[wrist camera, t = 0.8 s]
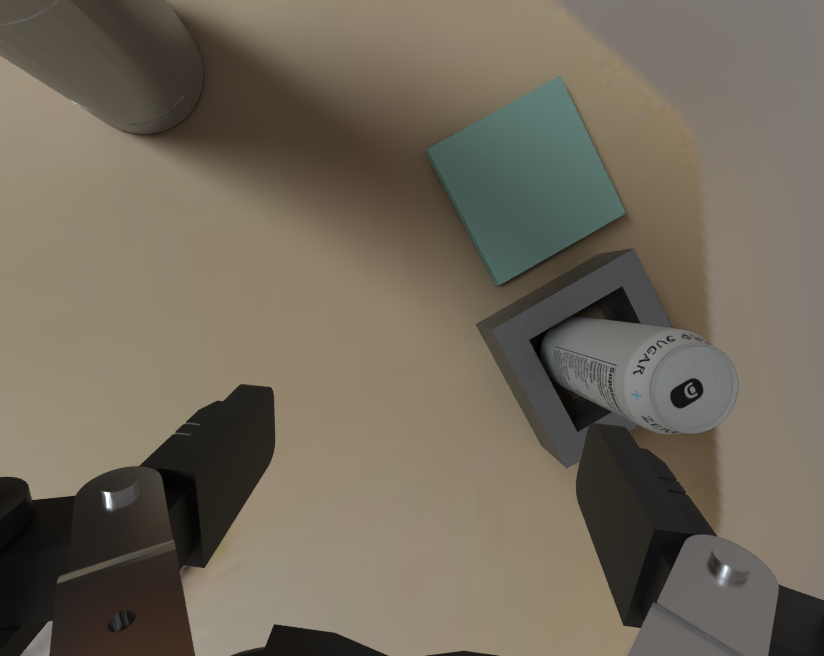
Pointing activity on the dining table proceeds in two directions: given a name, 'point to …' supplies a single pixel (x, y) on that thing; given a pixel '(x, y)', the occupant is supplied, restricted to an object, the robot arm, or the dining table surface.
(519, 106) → the mat
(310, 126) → the dining table surface
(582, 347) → the energy drink can
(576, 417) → the collar block
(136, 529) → the robot arm
